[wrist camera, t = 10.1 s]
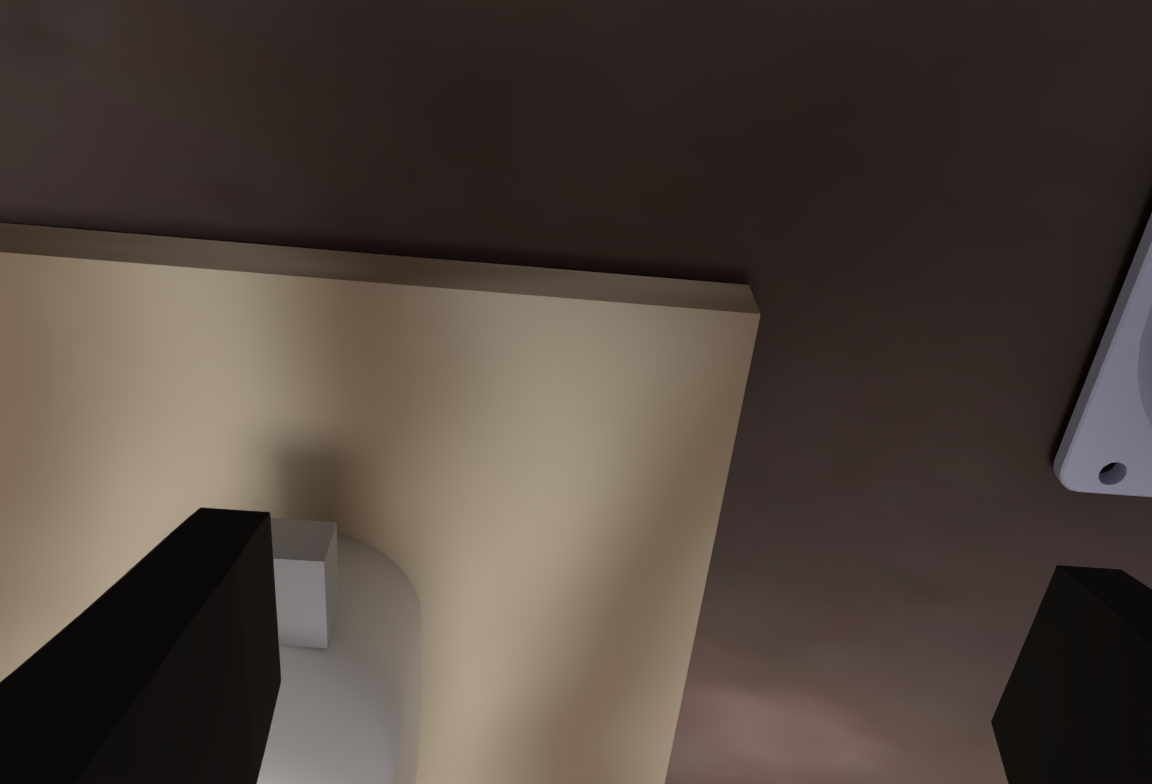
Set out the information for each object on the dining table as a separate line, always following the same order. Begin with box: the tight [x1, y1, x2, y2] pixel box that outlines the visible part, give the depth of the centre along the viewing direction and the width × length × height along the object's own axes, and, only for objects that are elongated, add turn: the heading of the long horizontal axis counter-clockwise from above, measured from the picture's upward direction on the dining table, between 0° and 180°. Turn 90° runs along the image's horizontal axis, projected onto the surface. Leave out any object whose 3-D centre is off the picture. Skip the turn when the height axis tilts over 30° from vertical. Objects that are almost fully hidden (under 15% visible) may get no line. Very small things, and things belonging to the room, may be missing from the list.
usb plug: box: [257, 518, 422, 784], centre depth 18 cm, size 4×10×5 cm, turn 175°
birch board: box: [0, 223, 761, 784], centre depth 22 cm, size 15×19×1 cm
